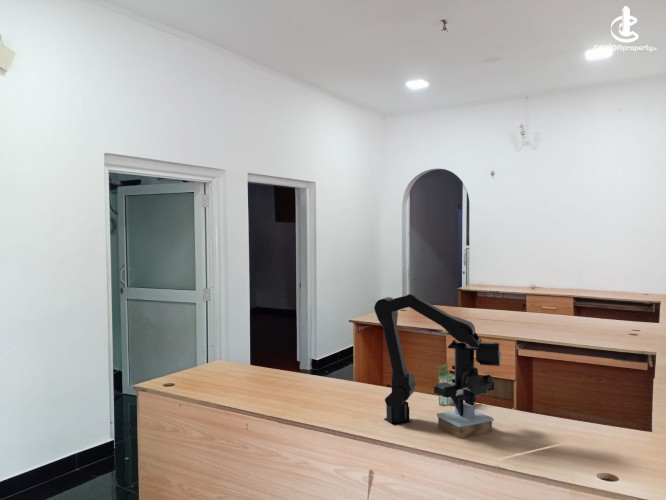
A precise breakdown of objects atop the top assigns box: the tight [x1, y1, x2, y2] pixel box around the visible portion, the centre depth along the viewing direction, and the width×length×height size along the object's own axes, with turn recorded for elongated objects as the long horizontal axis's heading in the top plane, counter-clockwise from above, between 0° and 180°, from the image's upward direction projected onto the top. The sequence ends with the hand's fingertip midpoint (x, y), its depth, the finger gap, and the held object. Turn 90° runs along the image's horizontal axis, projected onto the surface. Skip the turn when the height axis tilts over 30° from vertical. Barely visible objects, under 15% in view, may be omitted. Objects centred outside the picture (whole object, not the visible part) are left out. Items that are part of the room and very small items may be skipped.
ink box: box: [438, 363, 455, 407], centre depth 182 cm, size 7×4×13 cm, turn 140°
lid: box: [436, 401, 494, 428], centre depth 155 cm, size 13×11×4 cm
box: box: [437, 417, 493, 439], centre depth 155 cm, size 12×10×4 cm
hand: (464, 415), depth 155 cm, fingers closed on lid, 2 cm apart
